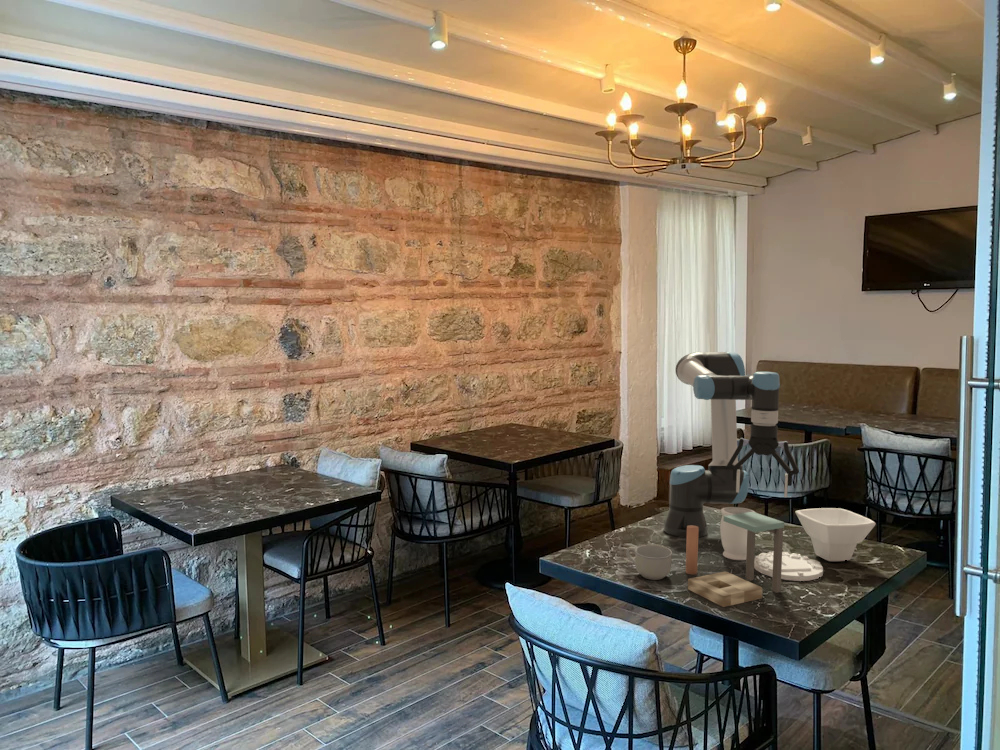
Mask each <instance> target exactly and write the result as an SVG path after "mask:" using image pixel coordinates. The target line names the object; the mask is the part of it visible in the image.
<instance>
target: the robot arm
mask: <svg viewBox="0 0 1000 750" xmlns="http://www.w3.org/2000/svg"><path fill="white" fill-rule="evenodd" d="M675 374H676V377H677V379H678V380H679V381H680V382H681V383H683V384H685V385H689V386H691V387H692V388H693V389H692V390H693V394H694V397H695V399H697V400H705V401H709V400H710V408H711V409H710V413H711V417H710V418H711V419H710V420H711V446H712V448H711V451H712V453H711V455H712V460H711V461H710V463H709V464H708V469H705V467H704V466H702V465H699V464H686V465H680V466H677V467H675V468H673V469H672V470H671V471H670V476H669V477H670V478H669V508H668V509H669V510H668V512H667V515H666V518H665V520H664V523H663V531H664V532H665V533H666V534H669V535H670V536H671V535H672V536H674V537H680V538H687V526H689V525H694V526H698V527H699V532H698V538H702V537H704V536H707V534H708V528H709V527H708V525H707V521H706V519H705V514H704V504H719V505H720V504H724V505H725V504H726V505H733V504H741V503H743V502H744V501H745V500H746V497H747V496H748V492H749V487H750V477H749V473H748V472H747V471H746V470H743V464H745V462H747V460H749V458H751V456H753V455H754V454H755V455H757V456H762V455H763V456H770V455H771V456H772V457H773V458H774V459H775V460H776V462H777V463H778V464H779V465H780V466H781V467H782V469H783V470H784V471H785V473H784V474H785V475H784V492H783V493H784V498H788V486H789V487H790V486H792V484H793V475H798V474H800V470H799V467H798V465H797V462H796V461H795V457H793V455H792V452H791V450H790V448H789V442H788V441H787V440H784V441H779V440H778V431H779V430H778V425H777V424H778V423H779V403H780V402H779V401H780V400H779V399H780V387H781V383H780V375H779V373H778V372H775V371H774V372H773V371H756V372H754V373H753V374H746V368H745V364H744V361H743V358H742V356H741V355H739V354H738V353H736V352H728V351H724V352H723V351H720V352H719V351H712V352H711V351H710V352H708V351H707V352H706V351H703V352H702V351H697V352H696V351H695V352H691V353H688V354H686V355H684V356H683V357H681V358H680V359H679V360H678V361H677V363H676V365H675ZM739 400H741V401H751V411H750V413H751V415H750V417H751V418H750V422H751V424H750V438H749V439H746V438H743V437H740V438H739V441H738V428H737V427H738V426H737V403H736V402H737V401H739ZM747 444H748V445H749V446H750V449H749V450H748V451H747V453H746V454H745V455H744V456H743V457H741V459H740V460H739V459H738V456H739V454H740V452H741V451H742V449H743V447H745V446H746V445H747ZM778 447H780V448H781V449H782V450H783V451H784V453H785V455H786V457H787V460H788V461H789V464H790V466H791V468H792V469H791V468H790V467H789V465H788V464H787V463H786V461H785V460H784V459H783V458H782V457H781V455H780V454H779V453H778V451H777V450H776V449H777V448H778Z"/></svg>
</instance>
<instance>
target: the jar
mask: <svg viewBox="0 0 1000 750" xmlns="http://www.w3.org/2000/svg"><path fill="white" fill-rule="evenodd" d="M746 512H755V513H756V511H755V510H753V509H751V508H745V507H742V506H741V507H739V506H727V507H722V508H721V509H720V513H721V515H722V516H721V520H720V527H719V531H720V532H719V533H720V537H721V540H720V541H721V545H722V547H723V550H724V551H723V552H722V556H723V557H725V558H727V559H729V560H734V561H746V554H747V529H744V528H741V527H738V526H735V525H733V524H730V523H727V522H724V521H723V519H724V516H727V515H733V514H740V513H746Z"/></svg>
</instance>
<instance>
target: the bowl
mask: <svg viewBox="0 0 1000 750" xmlns="http://www.w3.org/2000/svg"><path fill="white" fill-rule="evenodd" d="M795 515H796V516H797V518H798V520H799V523H800V524H801V526H802V528H803V530H804V531H805V533H806V534H807V535H808V536H809V537H810V540H811V543H812V547H813V551H814V554H815V555H816V556H818V557H820V558H822V559H824V560H825V561H828V562H845V560H847V561H849V560H851V559H852V557H853V554H854V552H855V551H856V548H857V545H858V544H859V543H862V542H863V541H864V540H865V539H866V537H867V536H868V535H869V534H870V532H871V531H872V530H873V529H874V528H875V526H876V522H875V521H874V520H872V519H870V518H868V517H866V516H864V515H861V514H859V513H856V512H853V511H851V510H848V509H844V508H841V507H838V508H836V507H821V508H820V507H819V508H806V509H799V510H795Z"/></svg>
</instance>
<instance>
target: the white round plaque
mask: <svg viewBox="0 0 1000 750" xmlns="http://www.w3.org/2000/svg"><path fill="white" fill-rule="evenodd" d="M773 553H774V550H773V551H768V552H767V553H766V552H761V553H760V554H758V555H755V559H754V570H755V571H757V572H759V573H761V574H762V575H766V576H768V577H771V578H772V577H773ZM823 574H824V567H823V566H822V564H821V562H820V561H818V560H817V559H811V558H809V556H807V555H803V556H801V554H800V553H794V552H793V553H791V554H790V553H789V552H788V551H782V569H781V580H786V581H795V582H796V581H797V582H801V581H803V582H805V581H807V582H808V581H813V580H817V579H819V577H820V578H821V577H823Z"/></svg>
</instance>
